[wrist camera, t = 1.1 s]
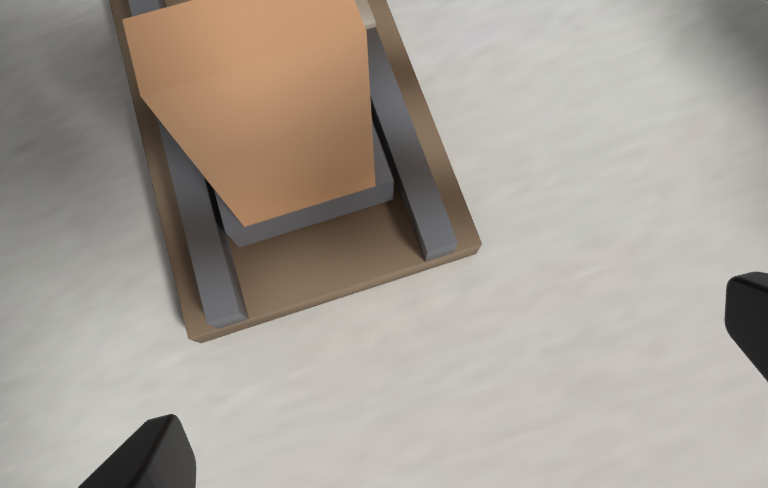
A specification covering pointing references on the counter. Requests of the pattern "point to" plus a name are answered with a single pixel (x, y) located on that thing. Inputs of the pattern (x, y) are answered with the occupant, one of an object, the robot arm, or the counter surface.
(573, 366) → the counter surface
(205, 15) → the fader tab
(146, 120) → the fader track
